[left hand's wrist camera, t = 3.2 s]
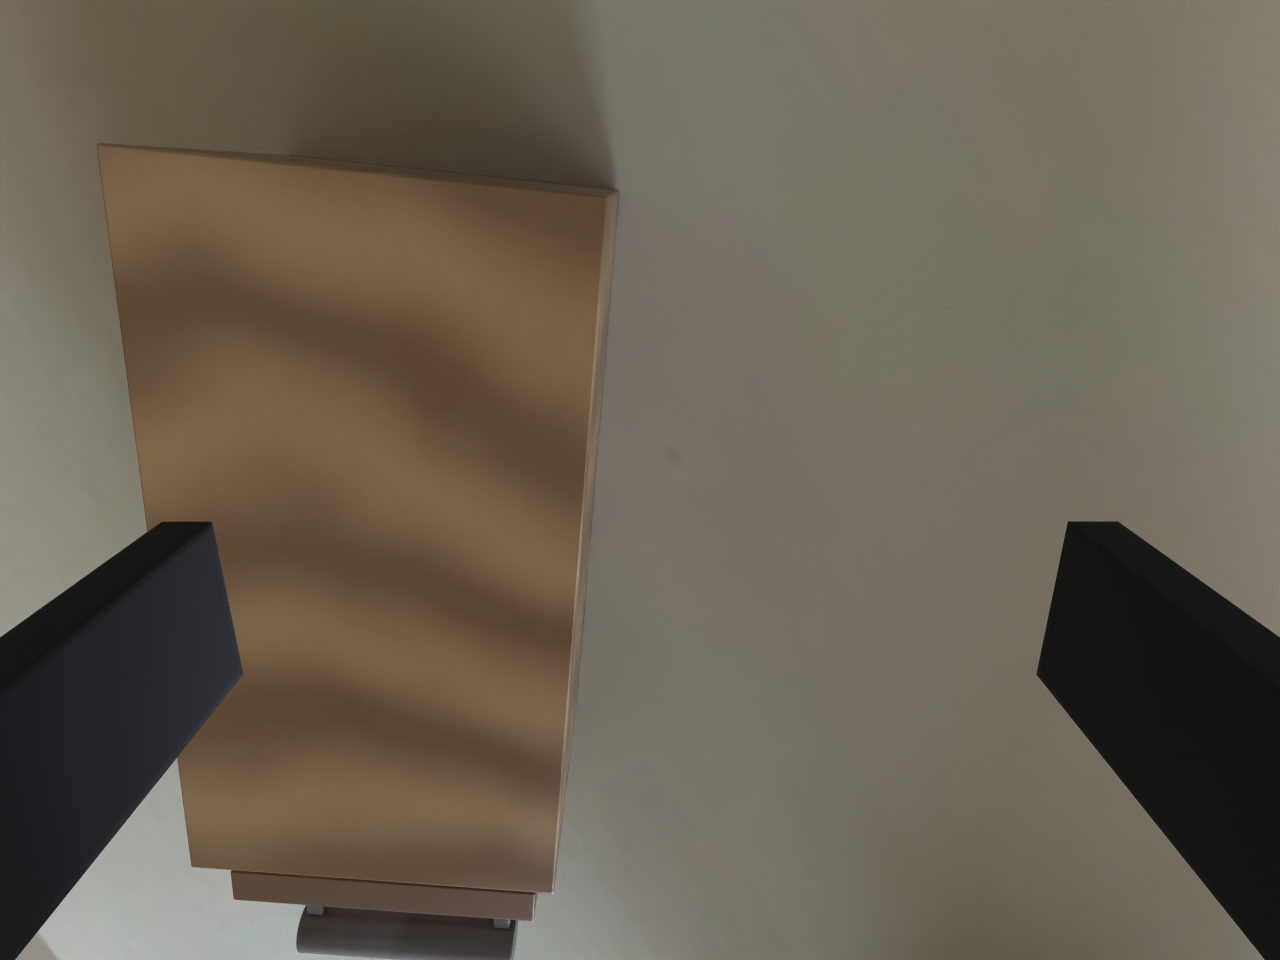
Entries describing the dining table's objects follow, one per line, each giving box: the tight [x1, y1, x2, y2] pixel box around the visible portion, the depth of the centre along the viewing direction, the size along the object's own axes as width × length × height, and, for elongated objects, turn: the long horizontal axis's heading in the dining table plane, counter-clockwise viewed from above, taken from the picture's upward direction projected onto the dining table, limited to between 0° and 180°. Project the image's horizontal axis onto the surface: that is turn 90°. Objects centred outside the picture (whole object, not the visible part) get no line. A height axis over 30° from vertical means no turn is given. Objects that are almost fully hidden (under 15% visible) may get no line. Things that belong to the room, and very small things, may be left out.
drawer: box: [231, 870, 538, 960], centre depth 27 cm, size 24×10×8 cm, turn 174°
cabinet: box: [97, 143, 619, 893], centre depth 25 cm, size 20×11×10 cm, turn 174°
